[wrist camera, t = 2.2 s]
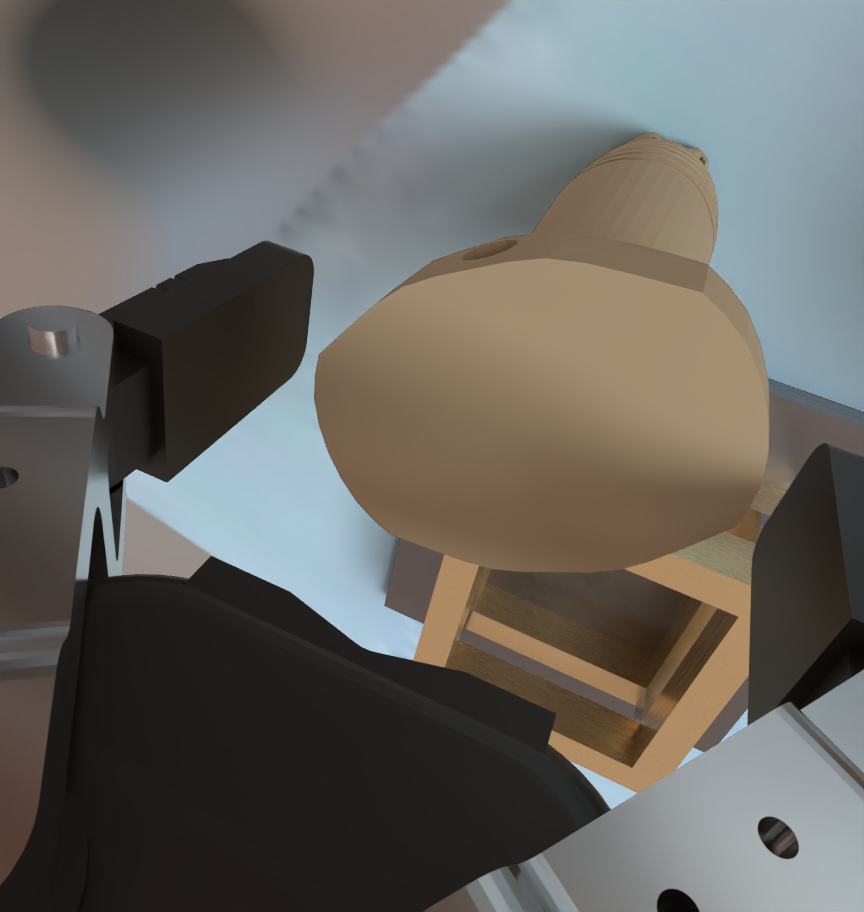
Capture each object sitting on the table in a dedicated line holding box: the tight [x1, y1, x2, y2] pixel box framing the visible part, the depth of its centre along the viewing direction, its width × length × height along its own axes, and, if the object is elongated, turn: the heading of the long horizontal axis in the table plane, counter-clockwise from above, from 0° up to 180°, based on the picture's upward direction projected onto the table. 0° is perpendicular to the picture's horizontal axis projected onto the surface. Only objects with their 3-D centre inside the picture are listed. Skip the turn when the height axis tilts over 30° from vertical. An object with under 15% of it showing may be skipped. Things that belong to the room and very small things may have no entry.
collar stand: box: [384, 379, 864, 793], centre depth 27 cm, size 17×16×6 cm
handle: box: [314, 133, 769, 573], centre depth 16 cm, size 5×6×15 cm
